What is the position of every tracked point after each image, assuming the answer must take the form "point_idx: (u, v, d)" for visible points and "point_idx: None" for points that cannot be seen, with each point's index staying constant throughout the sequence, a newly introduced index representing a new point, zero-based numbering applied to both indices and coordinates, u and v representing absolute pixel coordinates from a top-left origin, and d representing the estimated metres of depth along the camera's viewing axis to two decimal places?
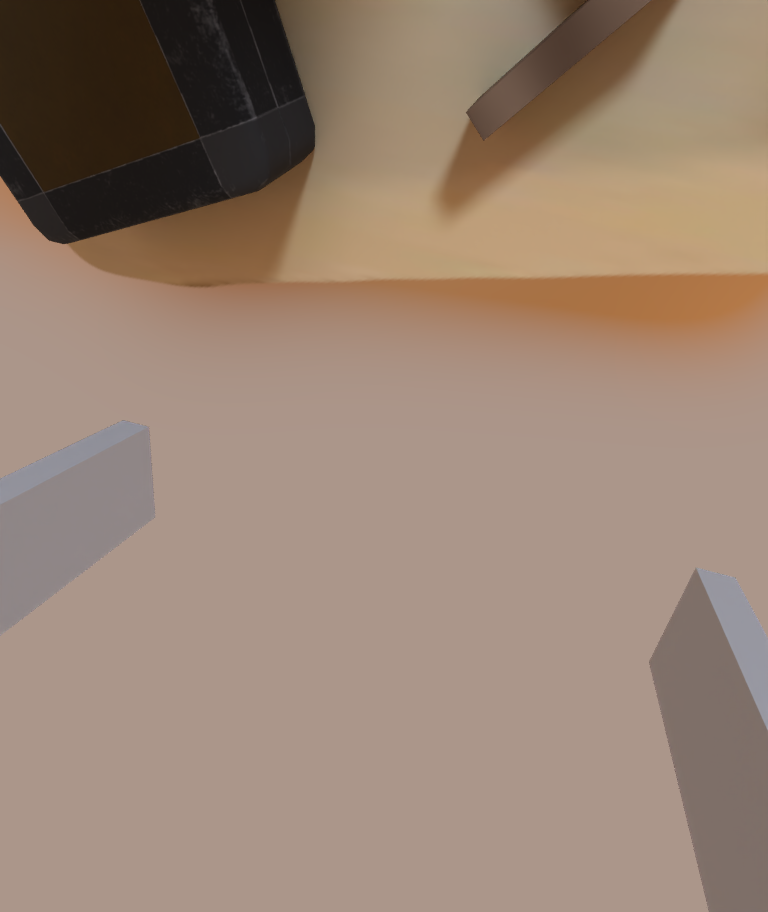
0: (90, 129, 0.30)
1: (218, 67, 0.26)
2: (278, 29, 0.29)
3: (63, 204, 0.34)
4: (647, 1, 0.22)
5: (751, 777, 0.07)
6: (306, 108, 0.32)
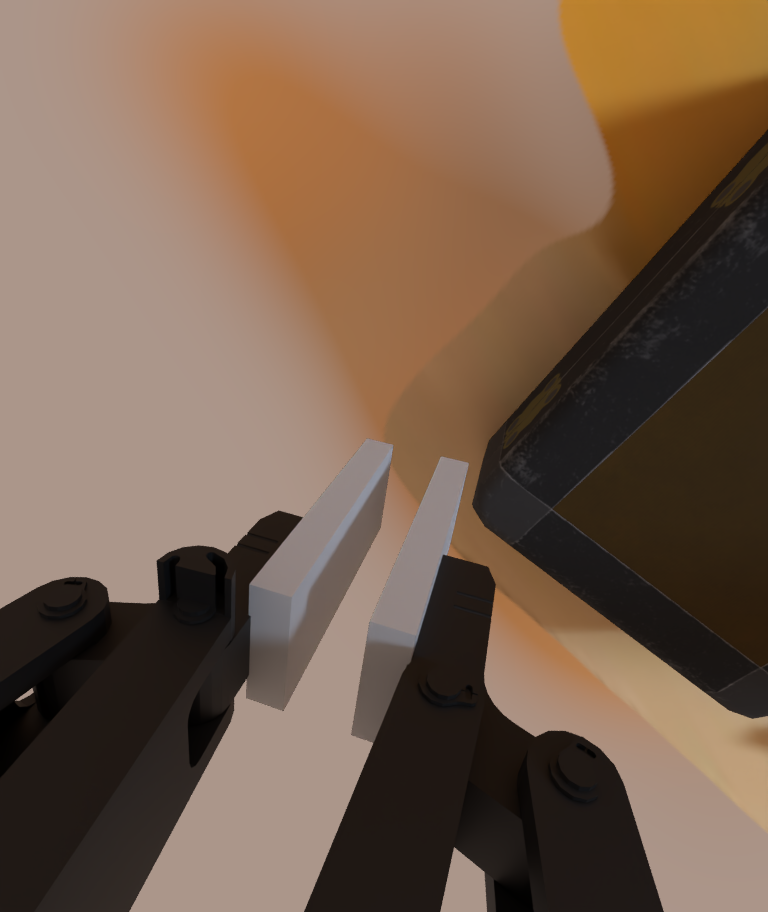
0: (687, 560, 0.25)
1: None
2: None
3: (555, 533, 0.26)
4: None
5: None
6: None
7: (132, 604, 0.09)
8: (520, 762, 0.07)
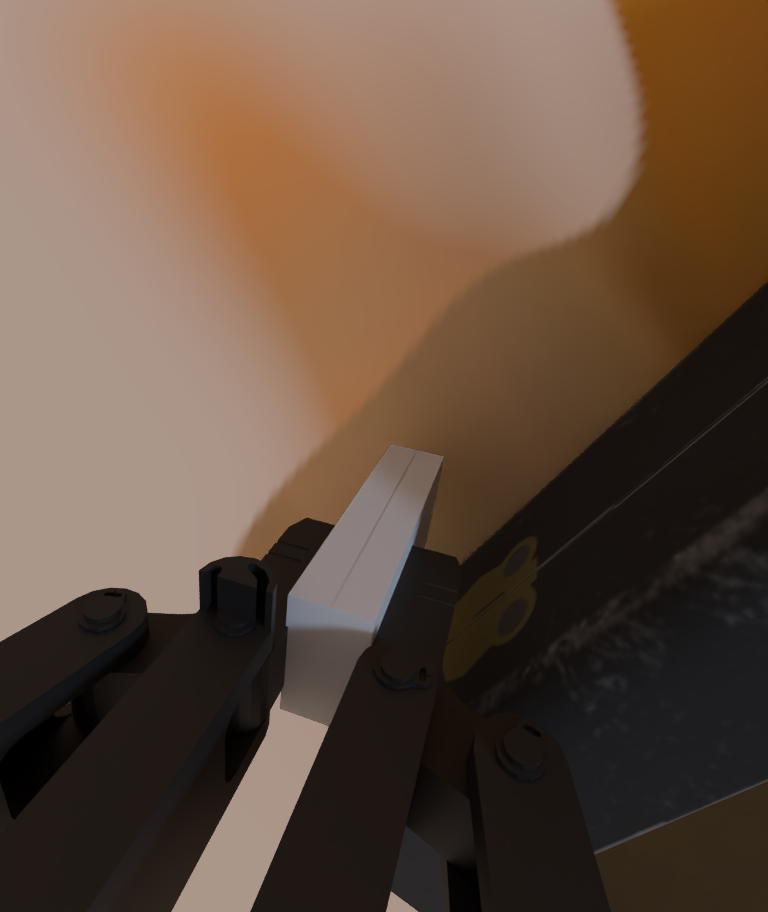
0: None
1: None
2: None
3: None
4: None
5: None
6: None
7: (169, 615, 0.09)
8: (469, 746, 0.07)
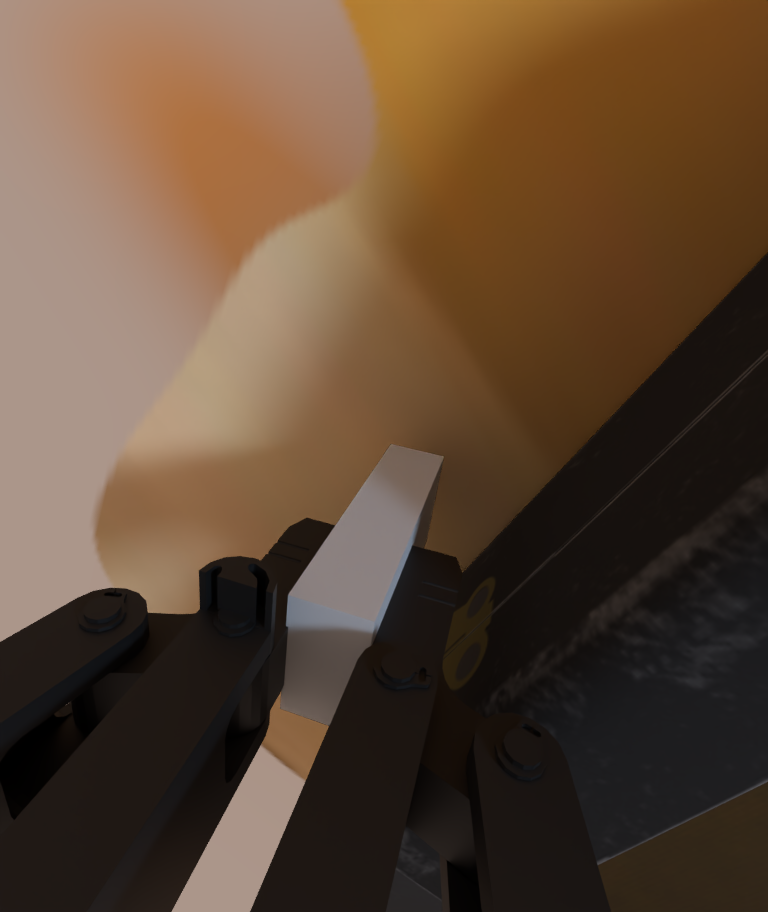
0: None
1: None
2: None
3: None
4: None
5: None
6: None
7: (169, 615, 0.09)
8: (469, 746, 0.07)
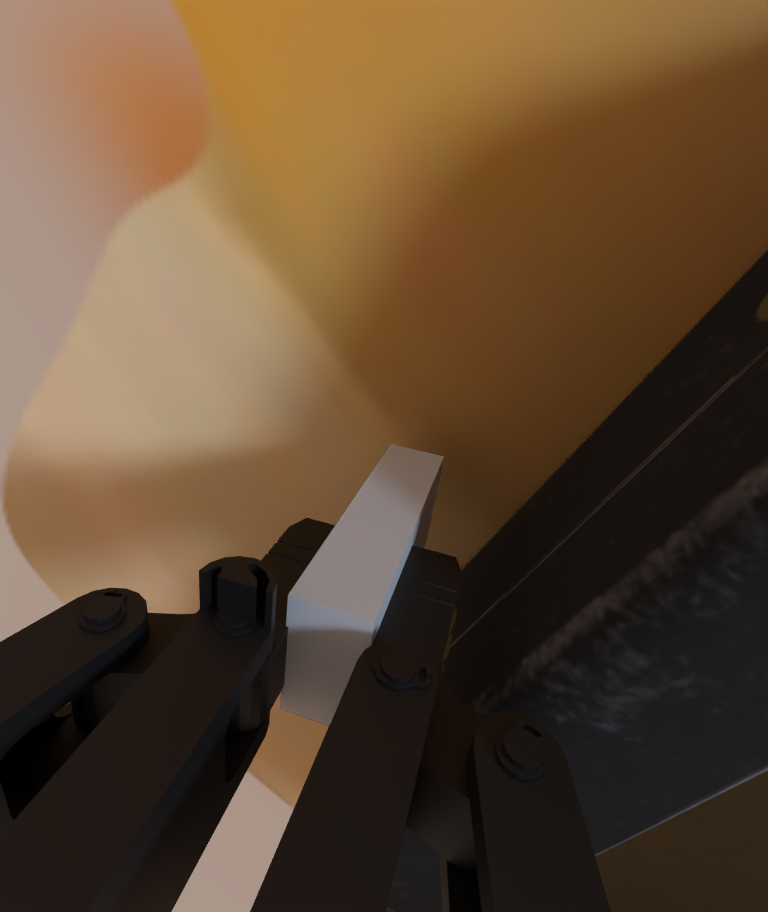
0: None
1: None
2: None
3: None
4: None
5: None
6: None
7: (169, 615, 0.09)
8: (469, 746, 0.07)
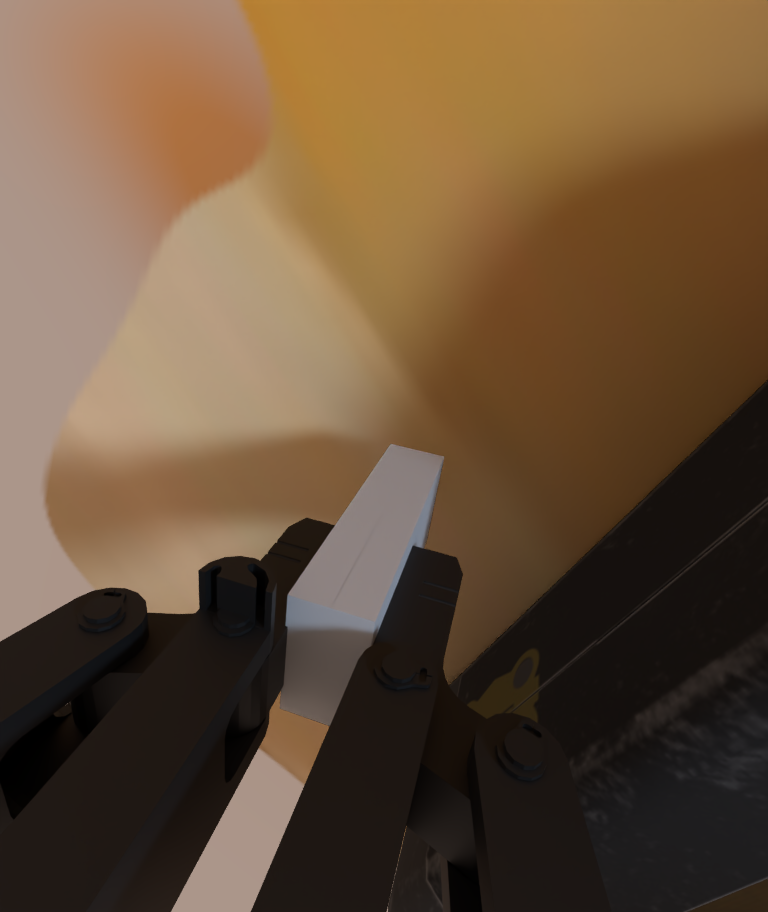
0: None
1: None
2: None
3: None
4: None
5: None
6: None
7: (168, 615, 0.09)
8: (470, 746, 0.07)
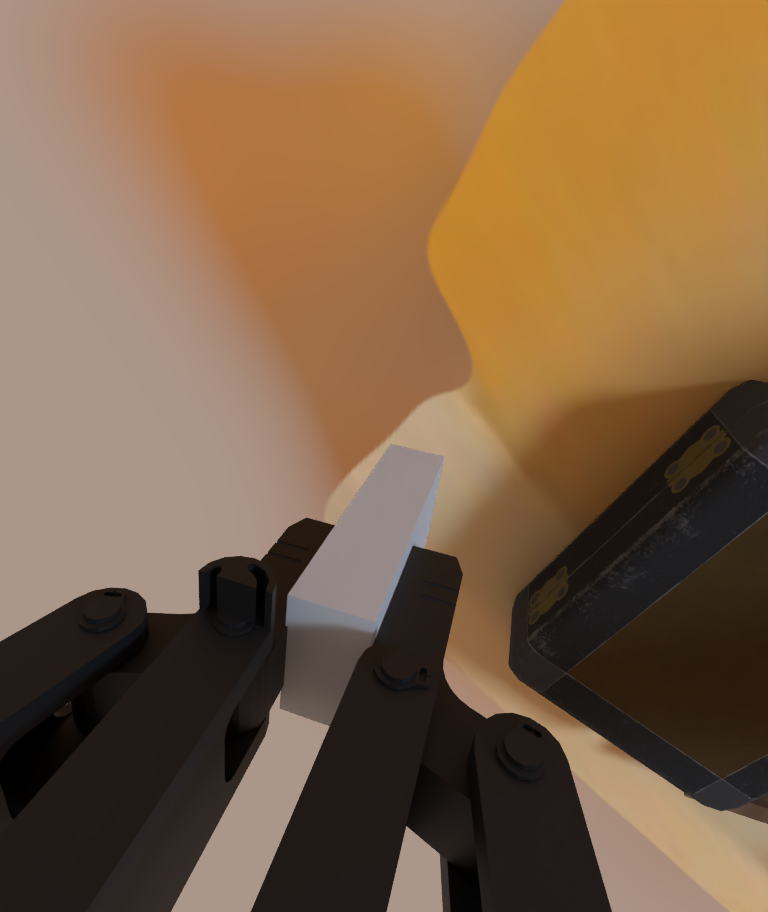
0: (663, 708, 0.35)
1: None
2: None
3: (569, 688, 0.37)
4: None
5: None
6: None
7: (168, 614, 0.09)
8: (470, 746, 0.07)
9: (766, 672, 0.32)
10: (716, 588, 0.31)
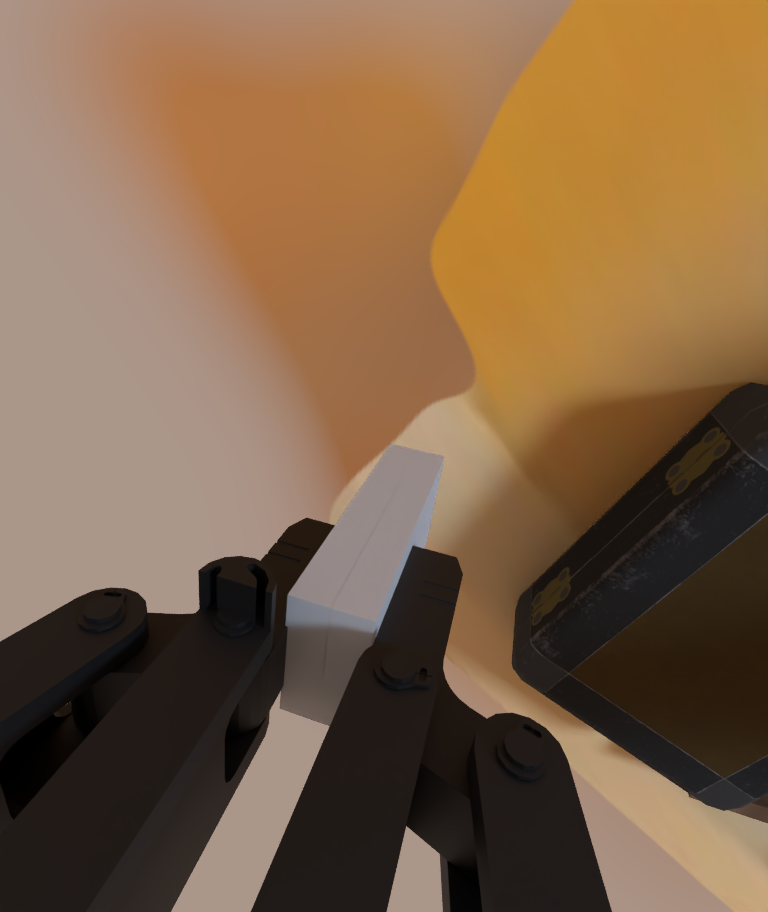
0: (665, 708, 0.36)
1: None
2: None
3: (572, 688, 0.37)
4: None
5: None
6: None
7: (168, 615, 0.09)
8: (470, 746, 0.07)
9: (767, 673, 0.33)
10: (717, 589, 0.31)
